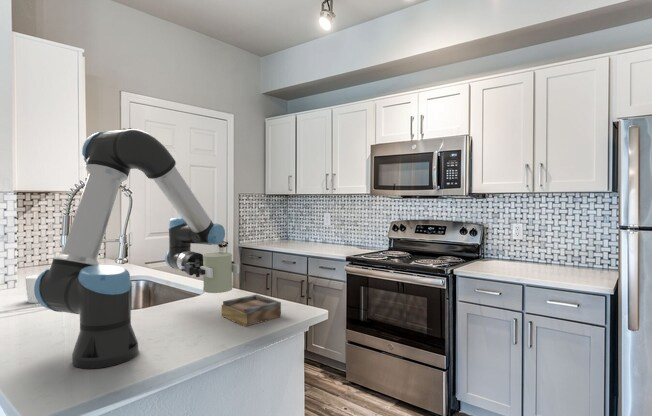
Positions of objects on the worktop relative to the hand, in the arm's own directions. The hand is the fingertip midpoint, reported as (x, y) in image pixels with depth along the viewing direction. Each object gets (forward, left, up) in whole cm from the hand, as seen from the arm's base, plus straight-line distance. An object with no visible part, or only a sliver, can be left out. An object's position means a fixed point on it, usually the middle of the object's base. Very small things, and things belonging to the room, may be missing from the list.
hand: (225, 271), depth 124 cm
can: (0, +5, -7) cm, 8 cm away
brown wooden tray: (+13, +5, -18) cm, 23 cm away
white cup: (-37, +82, -19) cm, 91 cm away
